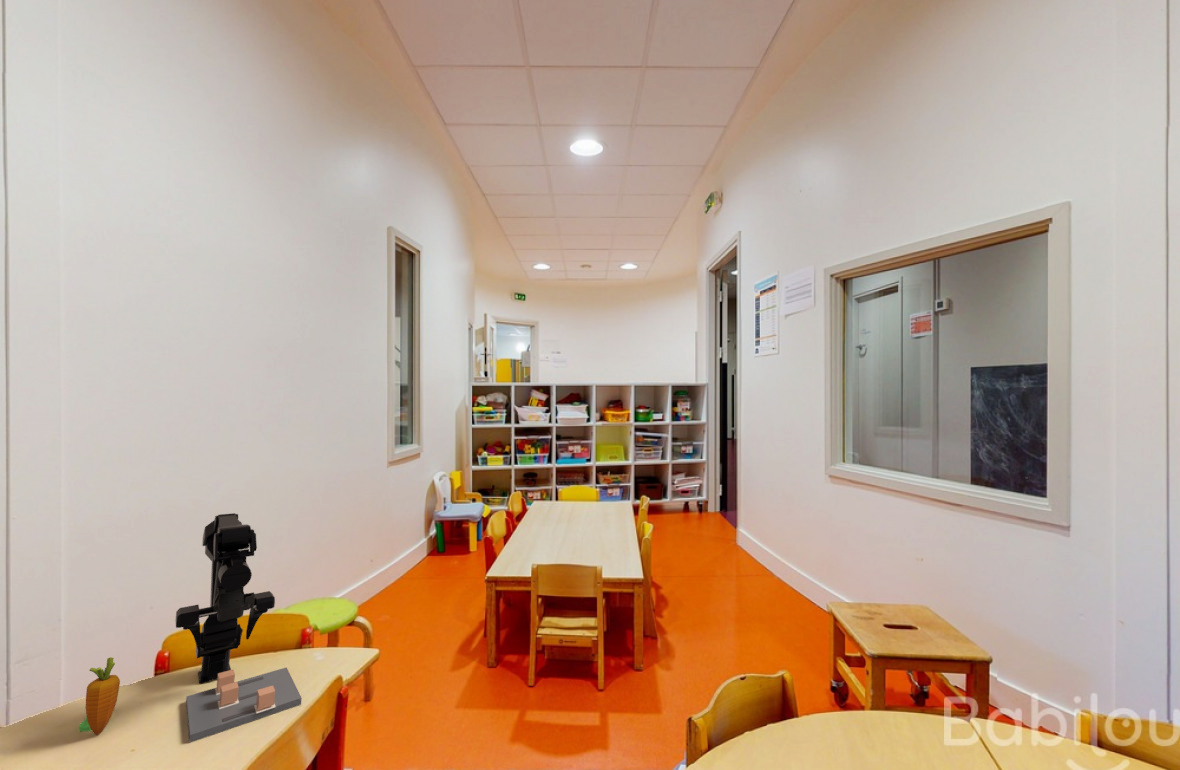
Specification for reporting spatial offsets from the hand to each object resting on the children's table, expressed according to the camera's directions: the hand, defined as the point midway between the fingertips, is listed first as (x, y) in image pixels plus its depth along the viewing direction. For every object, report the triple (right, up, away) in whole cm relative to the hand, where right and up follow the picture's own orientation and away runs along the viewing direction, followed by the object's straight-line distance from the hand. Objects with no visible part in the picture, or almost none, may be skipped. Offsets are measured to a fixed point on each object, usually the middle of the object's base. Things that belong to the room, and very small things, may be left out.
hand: (223, 644), depth 112 cm
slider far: (+1, -10, 0) cm, 10 cm away
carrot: (-14, -11, -15) cm, 23 cm away
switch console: (+7, -12, -3) cm, 15 cm away
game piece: (-18, -11, -12) cm, 25 cm away
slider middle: (+6, -10, -6) cm, 13 cm away
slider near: (+15, -10, -6) cm, 19 cm away
